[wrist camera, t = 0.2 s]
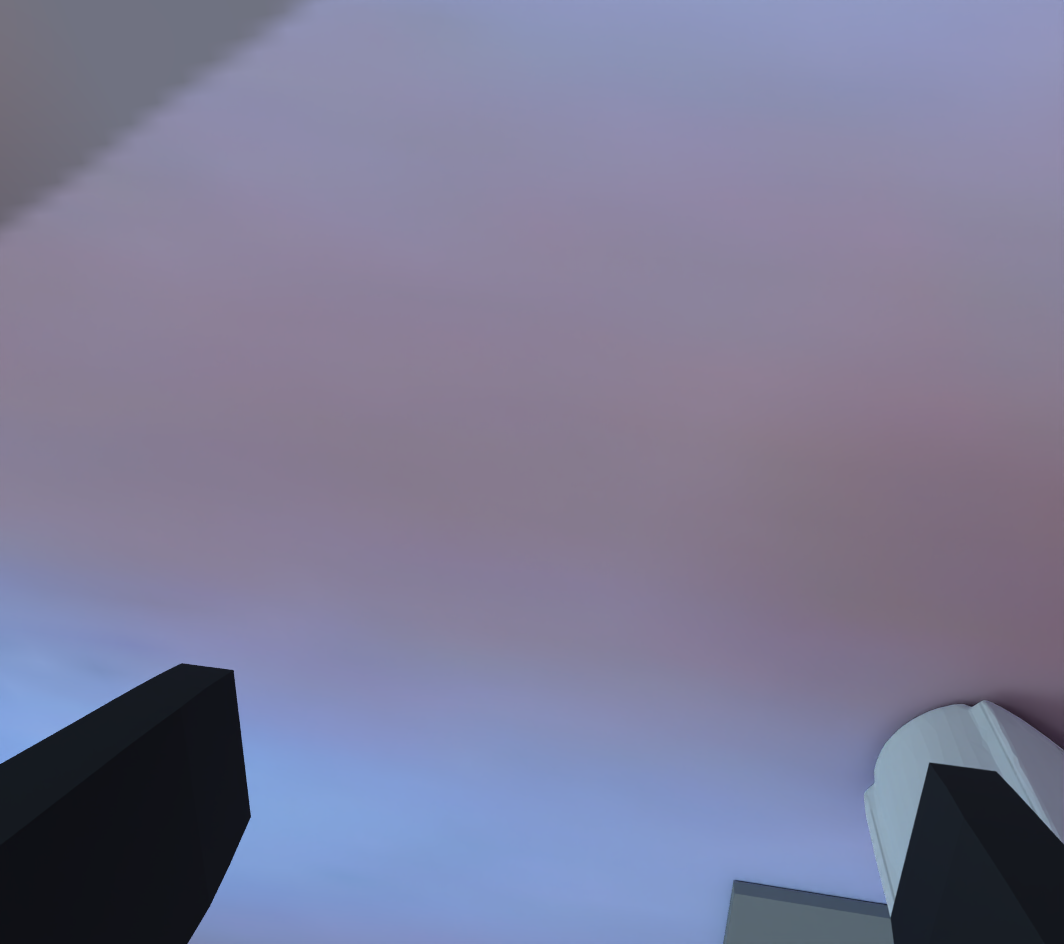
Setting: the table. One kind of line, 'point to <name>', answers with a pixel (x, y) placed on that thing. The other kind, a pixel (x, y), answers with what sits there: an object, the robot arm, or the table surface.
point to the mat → (802, 918)
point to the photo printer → (968, 741)
